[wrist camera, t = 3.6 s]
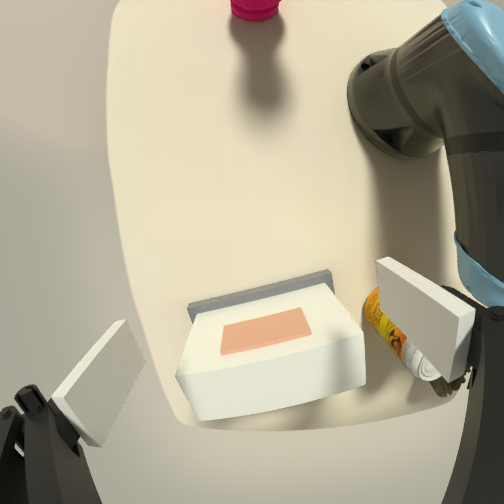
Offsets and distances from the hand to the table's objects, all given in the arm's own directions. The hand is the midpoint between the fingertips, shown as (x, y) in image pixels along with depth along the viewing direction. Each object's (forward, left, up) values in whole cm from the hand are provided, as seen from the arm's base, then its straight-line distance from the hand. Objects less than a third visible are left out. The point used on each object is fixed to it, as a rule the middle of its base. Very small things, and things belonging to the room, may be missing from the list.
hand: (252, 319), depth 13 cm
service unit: (0, +10, -20) cm, 23 cm away
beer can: (-16, +13, -20) cm, 29 cm away
